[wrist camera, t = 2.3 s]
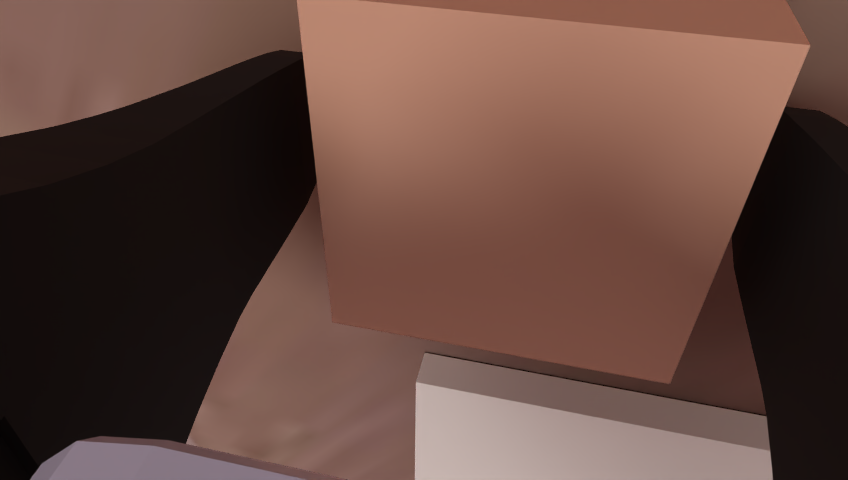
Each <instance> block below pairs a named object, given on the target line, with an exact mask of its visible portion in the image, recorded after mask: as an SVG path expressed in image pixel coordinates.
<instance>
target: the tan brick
mask: <svg viewBox="0 0 848 480" xmlns="http://www.w3.org/2000/svg"><path fill="white" fill-rule="evenodd" d="M297 6H298V15H299V24H300V33H301V42H302V51H303V60H304V69H305V78H306V87H307V96H308V105H309V114H310V123H311V132H312V141H313V150H314V159H315V168H316V177H317V186H318V195H319V204H320V213H321V223H322V232H323V241H324V250H325V259H326V268H327V277H328V286H329V295H330V304H331V313H332V322H334V323H339V324H345V325H350V326H355V327H361V328H366V329H372V330H377V331H383V332H388V333H394V334H399V335H405V336H410V337H415V338H421V339H426V340H432V341H437V342H443V343H448V344H454V345H459V346H465V347H470V348H475V349H481V350H486V351H492V352H497V353H503V354H508V355H514V356H519V357H525V358H530V359H535V360H541V361H546V362H552V363H557V364H563V365H568V366H574V367H579V368H585V369H590V370H595V371H601V372H606V373H612V374H617V375H623V376H628V377H634V378H639V379H645V380H650V381H655V382H661V383H666V384H670V382H671V380H672V378H673V375H674V373H675V370H676V368H677V366H678V363H679V361H680V358H681V356H682V354H683V351H684V349H685V346H686V344H687V342H688V339H689V337H690V334H691V332H692V329H693V327H694V325H695V322H696V320H697V317H698V315H699V313H700V310H701V308H702V305H703V303H704V301H705V298H706V296H707V293H708V291H709V289H710V286H711V284H712V281H713V279H714V277H715V274H716V272H717V269H718V267H719V265H720V262H721V260H722V257H723V255H724V252H725V250H726V248H727V245H728V243H729V240H730V238H731V236H732V233H733V231H734V228H735V226H736V224H737V221H738V219H739V216H740V214H741V212H742V209H743V207H744V204H745V202H746V200H747V197H748V195H749V192H750V190H751V188H752V185H753V183H754V180H755V178H756V175H757V173H758V171H759V168H760V166H761V163H762V161H763V159H764V156H765V154H766V151H767V149H768V147H769V144H770V142H771V139H772V137H773V135H774V132H775V130H776V127H777V125H778V123H779V120H780V118H781V115H782V113H783V111H784V108H785V106H786V103H787V101H788V98H789V96H790V94H791V91H792V89H793V86H794V84H795V82H796V79H797V77H798V74H799V72H800V70H801V67H802V65H803V62H804V60H805V58H806V55H807V53H808V50H809V48H810V46H811V45H810V43H809V41H808V40H807V38H806V36H805V34H804V32H803V31H802V29H801V27H800V25H799V23H798V21H797V20H796V18H795V16H794V14H793V12H792V11H791V9H790V7H789V5H788V3H787V1H786V0H297Z"/></svg>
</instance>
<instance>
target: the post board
mask: <svg viewBox="0 0 848 480" xmlns="http://www.w3.org/2000/svg"><path fill="white" fill-rule="evenodd" d="M415 480H773V474H772V464H771V454H770V445H769V435H768V425H767V416H761V415H756V414H751V413H745V412H740V411H735V410H729V409H724V408H719V407H713V406H708V405H702V404H697V403H692V402H686V401H681V400H676V399H670V398H665V397H660V396H654V395H649V394H644V393H638V392H633V391H627V390H622V389H617V388H611V387H606V386H601V385H595V384H590V383H585V382H579V381H574V380H569V379H563V378H558V377H553V376H547V375H542V374H536V373H531V372H526V371H520V370H515V369H510V368H504V367H499V366H494V365H488V364H483V363H478V362H472V361H467V360H461V359H456V358H451V357H445V356H440V355H435V354H429V353H424V357H423V360H422V363H421V367H420V370H419V374H418V377H417V380H416V427H415Z"/></svg>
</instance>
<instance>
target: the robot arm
mask: <svg viewBox="0 0 848 480" xmlns="http://www.w3.org/2000/svg"><path fill="white" fill-rule="evenodd" d="M316 182H317V177H316V168H315V159H314V150H313V141H312V132H311V123H310V114H309V105H308V96H307V87H306V78H305V69H304V60H303V53H302V52H293V51H285V50H279V51H274V52H270V53H266V54H263V55H260V56H257V57H254V58H252V59H249V60H246V61H244V62H241V63H238V64H236V65H233V66H231V67H228V68H226V69H223V70H221V71H218V72H216V73H213V74H211V75H209V76H206V77H204V78H201V79H199V80H196V81H194V82H191V83H189V84H186V85H184V86H181V87H178V88H175V89H173V90H170V91H167V92H164V93H162V94H159V95H156V96H153V97H151V98H148V99H145V100H142V101H140V102H137V103H134V104H131V105H128V106H125V107H122V108H119V109H116V110H113V111H109V112H106V113H103V114H99V115H96V116H92V117H88V118H85V119H81V120H77V121H73V122H70V123H66V124H62V125H58V126H54V127H49V128H45V129H39V130H34V131H29V132H24V133H19V134H14V135H9V136H4V137H0V480H347V479H343V478H338V477H334V476H329V475H324V474H320V473H315V472H311V471H306V470H302V469H297V468H293V467H288V466H283V465H279V464H274V463H270V462H265V461H261V460H256V459H252V458H247V457H242V456H238V455H233V454H229V453H224V452H220V451H215V450H211V449H206V448H202V447H197V446H192V445H187V444H186V442H187V439H188V436H189V434H190V431H191V429H192V426H193V423H194V421H195V418H196V416H197V413H198V411H199V408H200V406H201V404H202V401H203V399H204V397H205V394H206V392H207V389H208V387H209V385H210V382H211V380H212V378H213V375H214V373H215V370H216V368H217V366H218V363H219V361H220V359H221V357H222V355H223V352H224V350H225V348H226V346H227V344H228V341H229V339H230V337H231V335H232V333H233V331H234V328H235V326H236V324H237V322H238V320H239V318H240V316H241V314H242V312H243V310H244V308H245V306H246V305H247V303H248V301H249V299H250V297H251V295H252V294H253V292H254V291H255V289H256V287H257V286H258V284H259V282H260V281H261V279H262V277H263V276H264V274H265V273H266V271H267V269H268V268H269V266H270V264H271V263H272V261H273V260H274V258H275V256H276V255H277V253H278V251H279V250H280V248H281V247H282V245H283V243H284V242H285V240H286V238H287V237H288V235H289V233H290V232H291V230H292V228H293V227H294V225H295V223H296V222H297V220H298V218H299V217H300V215H301V213H302V212H303V210H304V208H305V207H306V205H307V203H308V201H309V198H310V196H311V194H312V191H313V189H314V187H315V184H316ZM732 248H733V261H734V270H735V275H736V279H737V284H738V288H739V293H740V297H741V302H742V306H743V310H744V315H745V319H746V323H747V327H748V332H749V336H750V340H751V344H752V349H753V353H754V357H755V361H756V366H757V370H758V374H759V378H760V382H761V387H762V393H763V398H764V404H765V409H766V416H767V425H768V435H769V445H770V454H771V464H772V474H773V480H848V127H847V126H845V125H844V124H842V123H841V122H839V121H838V120H836V119H834V118H832V117H831V116H829V115H827V114H825V113H823V112H821V111H817V110H808V109H799V108H790V107H785V108H784V111H783V113H782V115H781V118H780V120H779V123H778V125H777V127H776V130H775V132H774V135H773V137H772V139H771V142H770V144H769V147H768V149H767V151H766V154H765V156H764V159H763V161H762V163H761V166H760V168H759V171H758V173H757V175H756V178H755V180H754V183H753V185H752V188H751V190H750V192H749V195H748V197H747V200H746V202H745V204H744V207H743V209H742V212H741V214H740V216H739V219H738V221H737V224H736V226H735V228H734V231H733V233H732Z"/></svg>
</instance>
